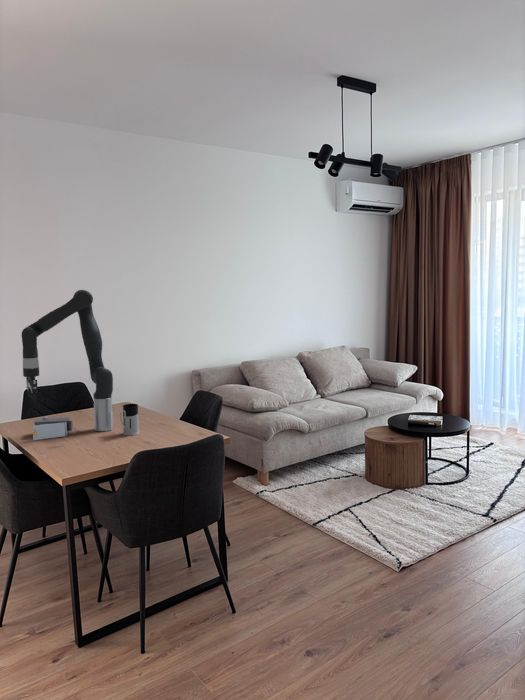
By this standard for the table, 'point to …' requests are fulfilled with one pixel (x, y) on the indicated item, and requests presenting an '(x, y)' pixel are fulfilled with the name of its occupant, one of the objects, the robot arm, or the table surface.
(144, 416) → the table surface
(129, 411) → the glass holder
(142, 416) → the table surface
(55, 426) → the side door
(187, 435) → the table surface
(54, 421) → the grey box with knob
